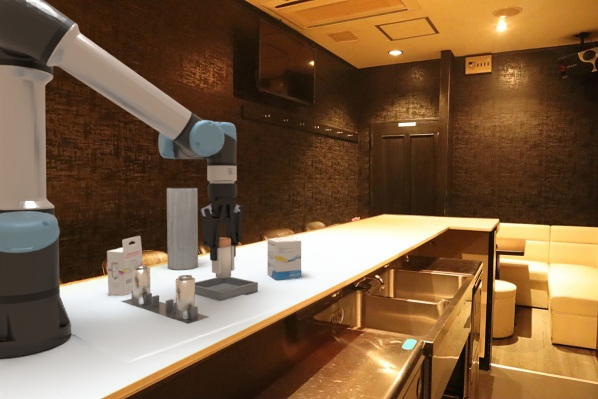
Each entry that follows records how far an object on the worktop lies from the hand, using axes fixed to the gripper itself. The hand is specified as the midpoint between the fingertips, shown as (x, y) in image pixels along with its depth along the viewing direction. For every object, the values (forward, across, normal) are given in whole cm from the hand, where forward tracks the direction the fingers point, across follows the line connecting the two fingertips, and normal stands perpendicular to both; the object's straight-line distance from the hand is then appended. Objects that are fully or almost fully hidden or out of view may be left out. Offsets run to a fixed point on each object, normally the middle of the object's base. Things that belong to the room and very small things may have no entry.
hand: (223, 271), depth 113 cm
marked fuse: (+1, 0, 0) cm, 1 cm away
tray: (+6, 0, 0) cm, 6 cm away
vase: (+6, +14, +36) cm, 39 cm away
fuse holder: (+6, -19, -1) cm, 20 cm away
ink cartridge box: (+6, -16, +20) cm, 26 cm away
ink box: (+6, +25, 0) cm, 26 cm away
